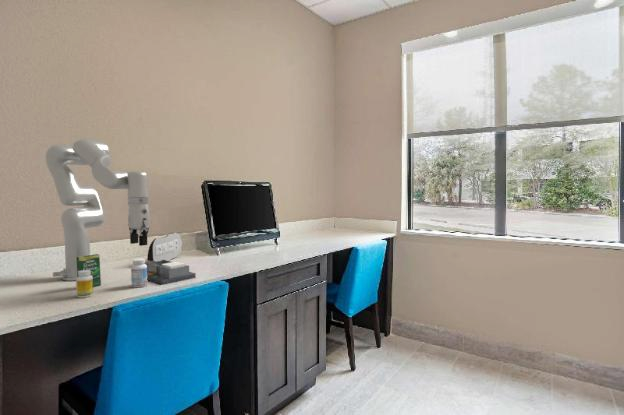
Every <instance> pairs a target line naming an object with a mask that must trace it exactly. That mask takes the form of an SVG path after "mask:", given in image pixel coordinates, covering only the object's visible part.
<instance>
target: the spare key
mask: <svg viewBox="0 0 624 415" xmlns="http://www.w3.org/2000/svg"><path fill="white" fill-rule="evenodd" d="M185 265H186V263H183V262H179V261H171V263H165V264H162V267H165V268H168V269H173V268H178V267H184V266H185Z"/></svg>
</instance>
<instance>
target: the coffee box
mask: <svg viewBox="0 0 624 415" xmlns="http://www.w3.org/2000/svg"><path fill="white" fill-rule="evenodd" d="M100 256H101V255H100V254H98V253H94V254H90V255H88V256H80V257H77V258H76V259H77V276H78V277H79V275H78V271H81V270H90V271H91V274H90V275H91V276H92V277H93V288H94V287H99V286H101V285H102V282H101V281H102V280H101V277H102V276H101V260H100V259H101V258H100Z"/></svg>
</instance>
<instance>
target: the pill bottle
mask: <svg viewBox="0 0 624 415" xmlns="http://www.w3.org/2000/svg"><path fill="white" fill-rule="evenodd" d="M130 268H131V270H130V272H131V273H130V274H131V276H130V277H131V287H132V288H144V287H147V286H148V282H149V281H148V280H147V265H146V259H145V258H142V257H140V258H139V257H138V258H134V259H132V265H131V267H130Z"/></svg>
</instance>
